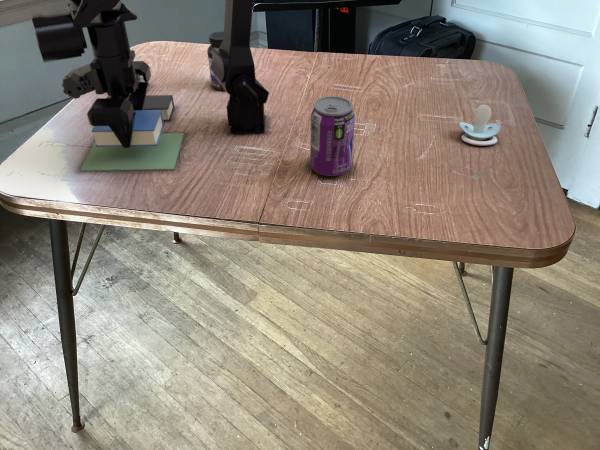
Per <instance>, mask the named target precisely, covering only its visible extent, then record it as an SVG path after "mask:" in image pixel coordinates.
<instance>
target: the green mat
mask: <svg viewBox="0 0 600 450" xmlns="http://www.w3.org/2000/svg"><path fill="white" fill-rule="evenodd" d="M184 136H185V133H184V132H171V133H170V132H169V133H168V132H167V133H166V132H165V133H164V132H162V134H161V137H160V140H159V143H158V146H130V148H124V147H96V141H95V140H94V143H93V145H92V146H91V148H90V150H89V152H88V154H87V156H86V158H85V160H84V161H83V164H82V166H81V167H80V172H123V171H124V172H125V171H127V172H129V171H130V172H131V171H174V170H175V169H176V165H177V161H178V158H179V154H180V150H181V147H182V143H183V140H184Z"/></svg>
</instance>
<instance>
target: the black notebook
mask: <svg viewBox="0 0 600 450" xmlns="http://www.w3.org/2000/svg"><path fill="white" fill-rule="evenodd" d="M106 98H111V97H108V95H107V96H106ZM143 110H162V116H163V121H164V122H171V120H172V117H173V114H174V110H175V102H174V96H173V94H156V95H155V94H154V95H153V94H152V95H151V94H150V95H149V94H148V95H147V94H146V98H145V102H144V106H143Z"/></svg>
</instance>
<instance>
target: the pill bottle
mask: <svg viewBox="0 0 600 450" xmlns="http://www.w3.org/2000/svg"><path fill="white" fill-rule="evenodd" d="M223 38H224V30H219V31H214V32H211V33H210V34H209V35H208V41H209V44H210V45H209V46H208V48H207V50H206V51H207V52H206V53H207V60H208V67H209V77H210V83H211V86H212V88H213V89H215V90H218V91H226V90H225V89H224V88H223V87H222V85H221V84H220V83H219V82H218V81H217V79H216V78H215V76H214V73H213V71H212V70H211V69H210V67H211V64H212V48H219V47H220V45H221V43H222V41H223Z"/></svg>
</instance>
